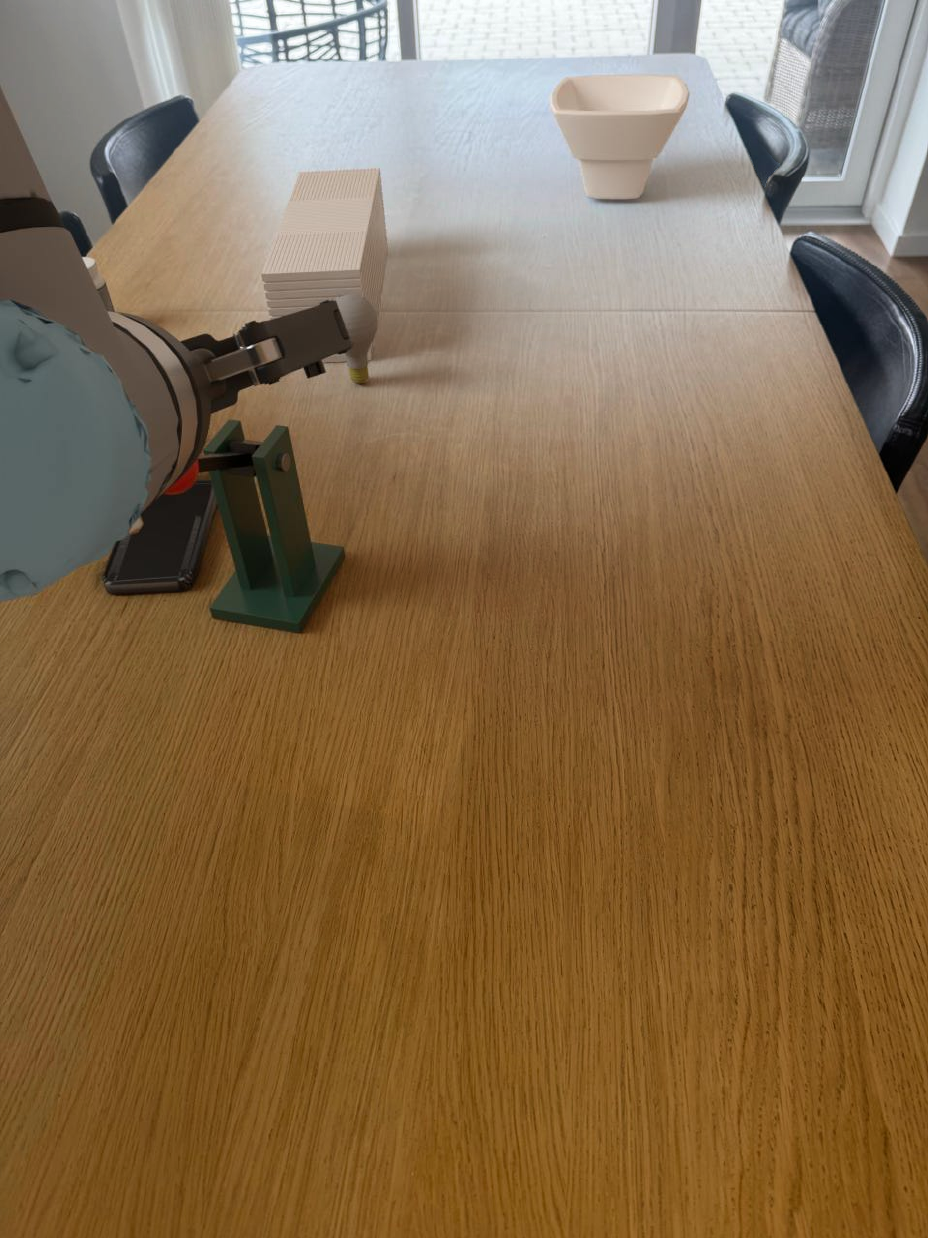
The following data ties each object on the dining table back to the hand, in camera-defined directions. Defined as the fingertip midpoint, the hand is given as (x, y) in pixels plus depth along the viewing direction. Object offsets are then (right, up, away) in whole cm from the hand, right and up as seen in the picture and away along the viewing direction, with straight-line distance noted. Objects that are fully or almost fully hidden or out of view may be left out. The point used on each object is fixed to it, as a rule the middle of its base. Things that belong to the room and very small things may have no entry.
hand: (181, 384), depth 57 cm
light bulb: (+5, +12, +51) cm, 52 cm away
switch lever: (-1, -5, +12) cm, 13 cm away
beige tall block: (+1, +26, +66) cm, 71 cm away
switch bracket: (+1, -11, +25) cm, 28 cm away
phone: (-10, -7, +31) cm, 34 cm away
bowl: (+39, +50, +88) cm, 109 cm away
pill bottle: (-29, +22, +64) cm, 73 cm away
